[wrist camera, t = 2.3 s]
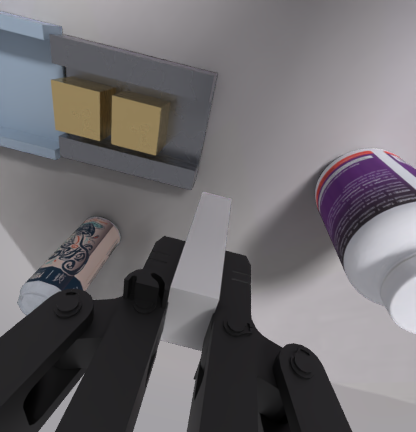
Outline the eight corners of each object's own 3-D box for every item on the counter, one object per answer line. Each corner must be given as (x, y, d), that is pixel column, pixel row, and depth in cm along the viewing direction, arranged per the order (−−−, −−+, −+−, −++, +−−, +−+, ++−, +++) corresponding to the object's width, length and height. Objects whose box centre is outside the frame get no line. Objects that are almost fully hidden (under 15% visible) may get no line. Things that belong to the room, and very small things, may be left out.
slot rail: (67, 35, 23) (49, 33, 21) (217, 73, 23) (214, 75, 21) (74, 148, 28) (60, 156, 26) (195, 179, 28) (191, 190, 26)
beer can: (110, 210, 32) (44, 286, 22) (128, 242, 34) (76, 325, 24) (77, 218, 33) (0, 293, 23) (97, 249, 35) (34, 329, 25)
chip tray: (-55, -3, 23) (-86, -9, 21) (61, 26, 23) (42, 24, 20) (-22, 128, 29) (-44, 134, 26) (70, 151, 29) (55, 160, 26)
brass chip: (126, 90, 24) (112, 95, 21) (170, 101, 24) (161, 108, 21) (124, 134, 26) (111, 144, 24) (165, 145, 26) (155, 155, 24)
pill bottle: (306, 219, 29) (346, 343, 17) (320, 144, 25) (387, 237, 13) (389, 222, 28) (495, 358, 16) (418, 144, 24) (594, 248, 11)
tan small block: (71, 76, 24) (50, 79, 21) (115, 87, 24) (99, 92, 21) (74, 121, 26) (55, 129, 24) (114, 132, 26) (100, 141, 24)
